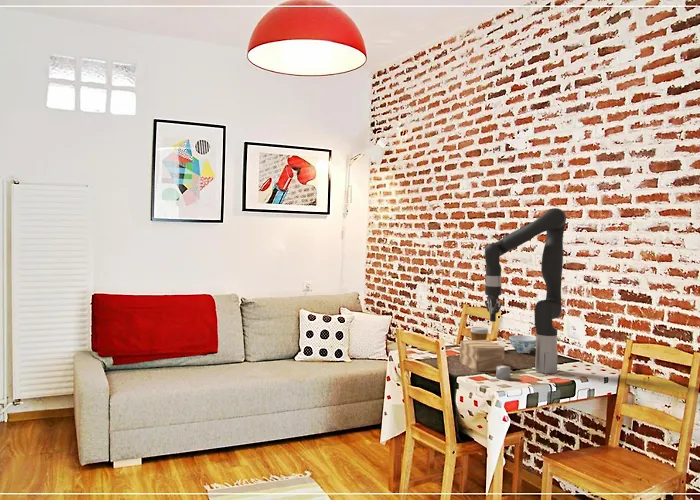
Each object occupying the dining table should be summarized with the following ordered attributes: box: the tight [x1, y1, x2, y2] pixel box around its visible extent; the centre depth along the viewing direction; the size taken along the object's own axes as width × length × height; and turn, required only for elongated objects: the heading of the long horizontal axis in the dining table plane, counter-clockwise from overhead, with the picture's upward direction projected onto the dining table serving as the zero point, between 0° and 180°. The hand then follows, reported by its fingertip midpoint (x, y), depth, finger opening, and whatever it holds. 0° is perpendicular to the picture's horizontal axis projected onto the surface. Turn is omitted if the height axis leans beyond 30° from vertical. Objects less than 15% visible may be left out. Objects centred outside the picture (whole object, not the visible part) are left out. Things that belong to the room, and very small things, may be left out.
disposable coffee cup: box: [469, 326, 489, 340], centre depth 324 cm, size 10×10×12 cm
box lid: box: [459, 339, 505, 350], centre depth 288 cm, size 18×14×1 cm
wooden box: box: [459, 341, 505, 372], centre depth 288 cm, size 18×14×10 cm
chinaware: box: [509, 334, 536, 354], centre depth 321 cm, size 15×15×8 cm
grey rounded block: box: [495, 365, 512, 381], centre depth 266 cm, size 6×6×5 cm
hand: (492, 321), depth 289 cm, fingers closed
